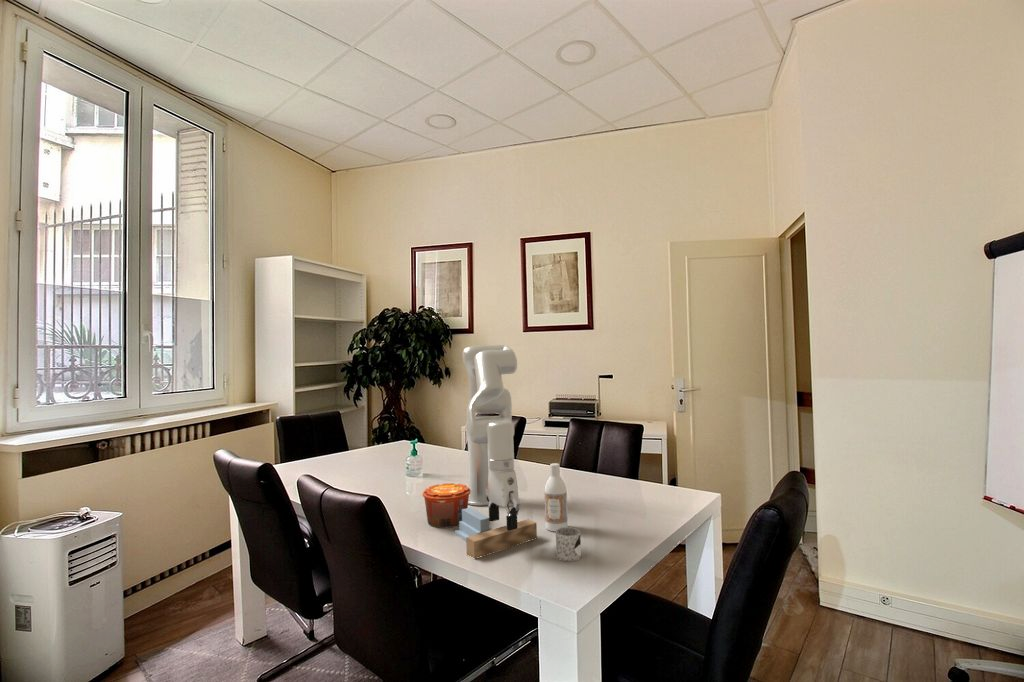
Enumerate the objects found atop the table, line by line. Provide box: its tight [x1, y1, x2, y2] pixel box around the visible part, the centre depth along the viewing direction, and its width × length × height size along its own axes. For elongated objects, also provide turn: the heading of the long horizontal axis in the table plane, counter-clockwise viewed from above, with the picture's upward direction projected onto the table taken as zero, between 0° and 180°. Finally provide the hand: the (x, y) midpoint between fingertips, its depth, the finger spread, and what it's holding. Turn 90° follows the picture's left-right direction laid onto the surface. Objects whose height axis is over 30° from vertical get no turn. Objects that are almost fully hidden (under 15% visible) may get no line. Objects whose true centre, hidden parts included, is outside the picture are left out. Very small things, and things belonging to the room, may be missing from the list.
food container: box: [422, 482, 471, 529], centre depth 159 cm, size 16×16×11 cm
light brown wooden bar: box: [465, 519, 538, 559], centre depth 137 cm, size 22×4×5 cm, turn 127°
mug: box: [555, 526, 582, 562], centre depth 131 cm, size 10×7×7 cm, turn 171°
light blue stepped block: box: [454, 507, 493, 541], centre depth 144 cm, size 8×12×7 cm, turn 33°
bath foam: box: [544, 462, 569, 533], centre depth 150 cm, size 7×7×20 cm
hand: (502, 524), depth 136 cm, fingers open, 9 cm apart
